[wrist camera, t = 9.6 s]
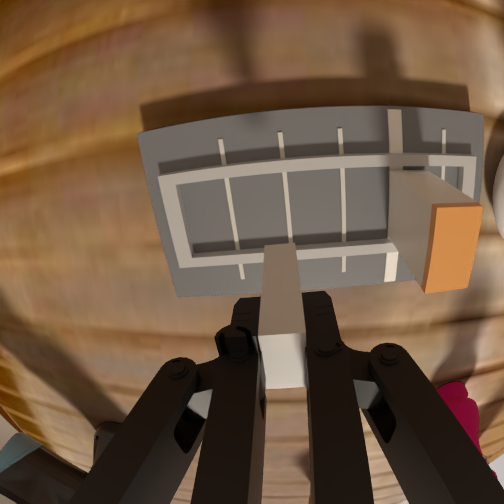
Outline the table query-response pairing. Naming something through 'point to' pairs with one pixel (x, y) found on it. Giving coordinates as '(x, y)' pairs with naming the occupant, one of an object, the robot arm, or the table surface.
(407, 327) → the table surface
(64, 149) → the table surface
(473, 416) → the pepper mill
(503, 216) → the flower in vase
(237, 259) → the panel
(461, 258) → the fader
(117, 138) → the table surface
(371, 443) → the table surface
